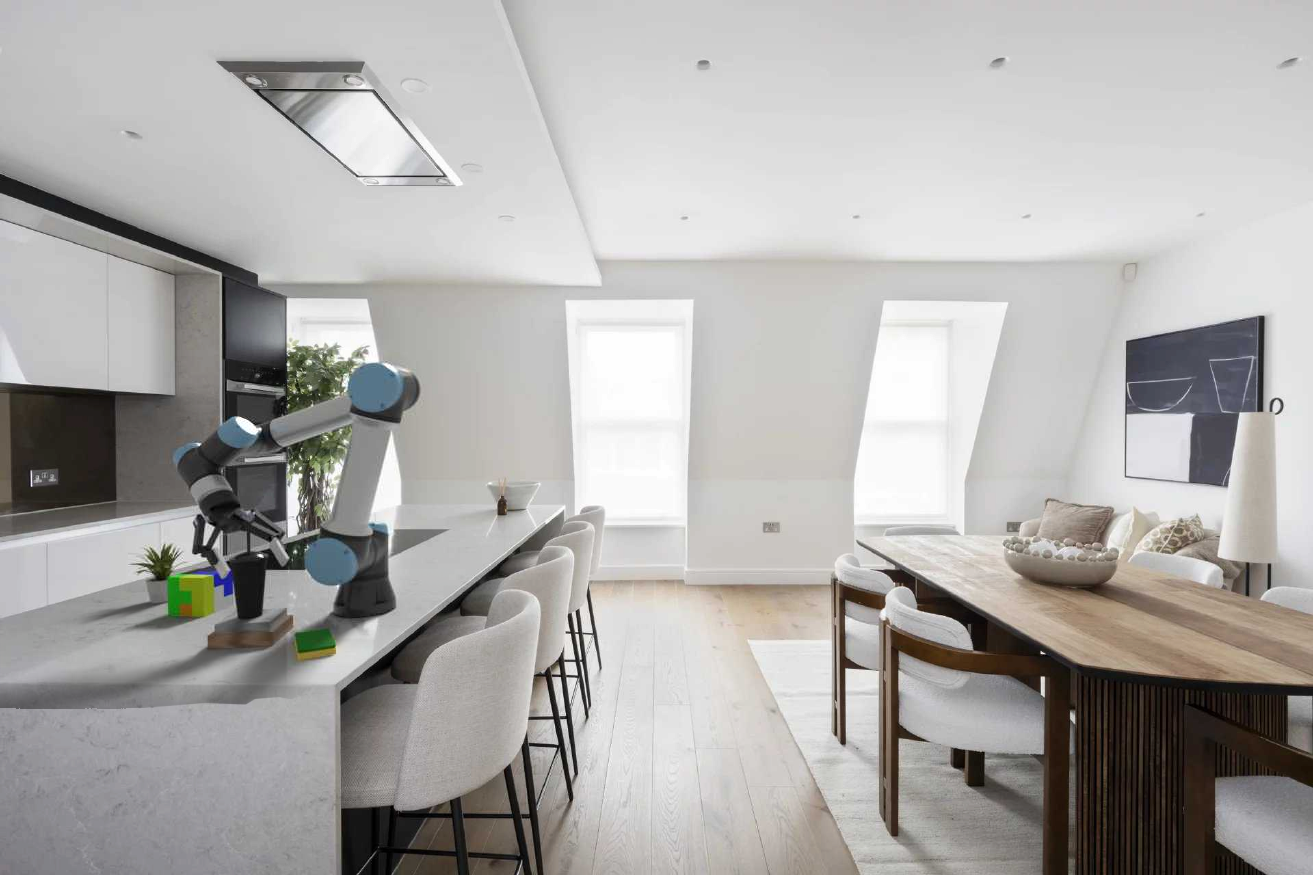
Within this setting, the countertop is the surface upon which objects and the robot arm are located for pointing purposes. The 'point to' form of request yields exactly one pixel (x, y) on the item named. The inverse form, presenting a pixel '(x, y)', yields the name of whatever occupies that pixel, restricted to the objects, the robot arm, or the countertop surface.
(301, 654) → the dish sponge
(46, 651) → the countertop surface
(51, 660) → the countertop surface
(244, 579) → the drinking cup
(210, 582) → the puzzle toy
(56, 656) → the countertop surface
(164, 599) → the house plant
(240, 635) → the two-layer plinth
